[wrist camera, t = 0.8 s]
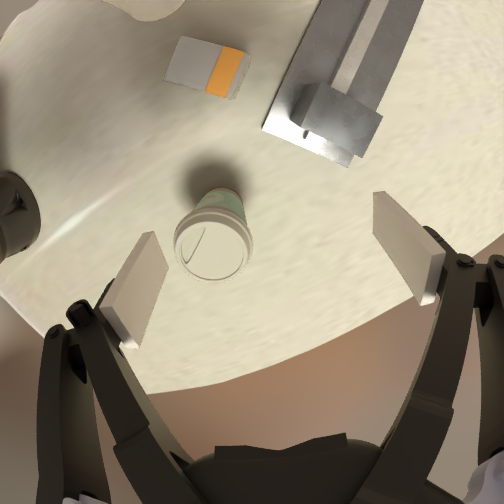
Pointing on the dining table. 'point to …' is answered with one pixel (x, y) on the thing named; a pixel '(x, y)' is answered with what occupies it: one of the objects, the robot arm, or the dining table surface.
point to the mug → (147, 8)
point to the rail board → (327, 57)
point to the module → (207, 67)
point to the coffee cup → (214, 238)
